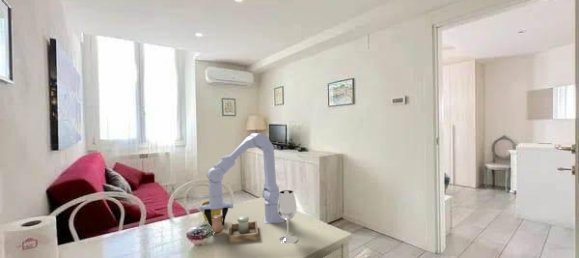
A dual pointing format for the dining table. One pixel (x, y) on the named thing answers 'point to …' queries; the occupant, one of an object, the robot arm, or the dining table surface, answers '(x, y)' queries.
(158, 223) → the dining table surface
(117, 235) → the dining table surface
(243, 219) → the sage pot
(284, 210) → the wineglass
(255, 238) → the wooden tray
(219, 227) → the terracotta pot
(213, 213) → the plant pot
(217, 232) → the cork mat
